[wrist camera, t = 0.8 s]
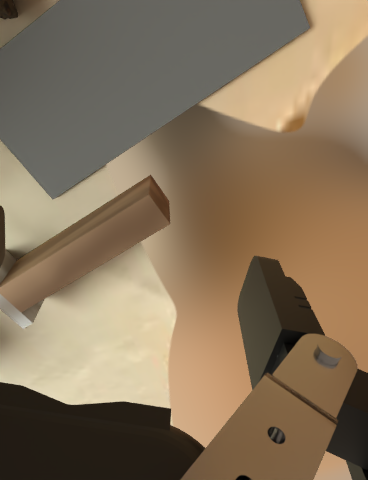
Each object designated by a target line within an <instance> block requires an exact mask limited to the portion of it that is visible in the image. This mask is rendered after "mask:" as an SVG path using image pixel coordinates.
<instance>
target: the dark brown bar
mask: <svg viewBox="0 0 368 480" xmlns="http://www.w3.org/2000/svg"><path fill="white" fill-rule="evenodd" d="M17 17H18V13H17V10H16V8H15V6H14V5H13V0H0V18H3V19H7V18H10V19H11V18H17Z"/></svg>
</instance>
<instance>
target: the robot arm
mask: <svg viewBox="0 0 368 480" xmlns="http://www.w3.org/2000/svg"><path fill="white" fill-rule="evenodd" d="M4 257H5V215H4V210H3V208H2V206H0V267H1V265H2V263H3V260H4ZM238 317H239V321H240V327H241V332H242V338H243V343H244V348H245V353H246V359H247V364H248V369H249V375H250V379H251V385H252V391H251V393H250V394H249V395H248V396H247V398H246V399H245V400H244V402H243V403H242V404H241V405H240V407H239V408H238V409H237V410H236V411H235V413H234V414H233V415H232V416H231V418H230V419H229V420H228V421H227V423H226V424H225V425H224V426H223V427H222V429H221V430H220V431H219V432H218V434H217V435H216V436H215V437H214V439H213V440H212V441H211V442H210V444H209V445H208V446H207V447H206V448H205V447H203V446H202V445H201V444H200V443H199V442H198V441H196V440H195V439H194V438H193V437H191V436H190V435H188V434H187V433H185V432H183V431H181V430H180V429H178V428H176V427H173V426H171V425H170V419H171V409H169V408H162V407H156V406H150V405H143V404H137V403H130V402H110V403H96V404H83V405H68V404H65V403H62V402H60V401H58V400H55V399H53V398H50V397H48V396H46V395H43V394H41V393H38V392H36V391H34V390H31V389H29V388H27V387H24V386H21V385H14V384H8V383H2V382H0V480H313V479H314V477H315V475H316V472H317V470H318V468H319V465H320V463H321V461H322V458H323V456H324V454H325V451H327V452H329V453H332V454H334V455H336V456H338V457H340V458H342V459H344V460H346V462H347V465H348V468H349V471H350V474H351V477H352V480H368V373H366V372H364V371H362V370H359V369H357V363H356V360H355V359H354V357H353V355H352V354H351V353H350V352H349V351H348V350H347V349H346V348H345V347H344V346H343V345H341V344H340V343H338V342H337V341H335V340H333V339H331V338H329V337H327V336H325V334H324V332H323V330H322V328H321V326H320V324H319V322H318V320H317V318H316V316H315V314H314V312H313V310H311V306H310V304H309V302H308V301H307V298H306V296H305V294H304V292H303V290H302V288H301V287H300V286H299V285H298V284H297V283H296V282H295V281H294V280H293V279H292V278H290V277H286V276H285V275H284V272H283V270H282V268H281V265H280V263H279V261H278V260H275V259H269V258H265V257H259V256H254V257H253V259H252V261H251V263H250V266H249V269H248V272H247V275H246V278H245V281H244V284H243V287H242V290H241V292H240V296H239V301H238Z"/></svg>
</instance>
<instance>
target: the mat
mask: <svg viewBox="0 0 368 480" xmlns="http://www.w3.org/2000/svg"><path fill="white" fill-rule="evenodd" d="M309 28H310V26H309V24H308V21H307V18H306V16H305V13H304V10H303V8H302V5H301V3H300V0H60V1H58V2H57V3H56V4H55V5H54V6H52V7H51V8H50V9H49V10H47V11H46V12H45V13H44V14H42V15H41V16H40V17H39V18H38V19H36V20H35V21H34V22H33V23H31V24H30V25H29V26H28V27H27V28H25V29H24V30H23V31H22V32H20V33H19V34H18V35H17V36H16V37H14V38H13V39H12V40H11V41H9V42H8V43H7V44H6V45H4V46H3V47H2V48H1V49H0V139H1V141H2V142H3V143H4V144H5V145H6V146H7V148H8V149H9V150H10V151H11V152H12V153H13V154H14V156H15V157H16V158H17V159H18V160H19V161H20V162H21V164H22V165H23V166H24V167H25V168H26V169H27V170H28V172H29V173H30V174H31V175H32V176H33V177H34V178H35V180H36V181H37V182H38V183H39V184H40V185H41V186H42V188H43V189H44V190H45V191H46V192H47V193H48V194H49V196H50V197H51V198H52V199H55V198H56V197H58V196H59V195H61V194H62V193H64V192H65V191H67V190H68V189H70V188H71V187H73V186H74V185H75V184H77V183H78V182H80V181H81V180H83V179H84V178H86V177H87V176H89V175H90V174H92V173H93V172H95V171H96V170H98V169H99V168H101V167H102V166H104V165H105V164H107V163H108V162H110V161H111V160H113V159H114V158H116V157H117V156H119V155H120V154H122V153H123V152H125V151H126V150H128V149H129V148H131V147H132V146H134V145H135V144H137V143H138V142H140V141H141V140H143V139H144V138H146V137H147V136H149V135H150V134H152V133H153V132H155V131H156V130H158V129H159V128H161V127H162V126H164V125H165V124H167V123H168V122H170V121H171V120H173V119H174V118H176V117H177V116H179V115H180V114H182V113H183V112H185V111H186V110H188V109H189V108H191V107H192V106H194V105H195V104H197V103H198V102H200V101H201V100H203V99H204V98H206V97H207V96H209V95H210V94H212V93H213V92H215V91H216V90H218V89H219V88H221V87H222V86H224V85H225V84H227V83H228V82H230V81H231V80H233V79H234V78H236V77H237V76H239V75H240V74H242V73H243V72H245V71H246V70H248V69H249V68H251V67H252V66H254V65H255V64H257V63H258V62H260V61H261V60H263V59H264V58H266V57H267V56H269V55H270V54H272V53H273V52H275V51H276V50H278V49H279V48H281V47H282V46H284V45H285V44H287V43H288V42H290V41H291V40H293V39H294V38H296V37H297V36H299V35H300V34H302V33H303V32H305V31H306V30H308V29H309Z"/></svg>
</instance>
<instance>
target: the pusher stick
mask: <svg viewBox="0 0 368 480" xmlns="http://www.w3.org/2000/svg"><path fill="white" fill-rule="evenodd" d="M169 224H170V212H169V200H168V199H167V197H166V196H165V195H164V193H163V192H162V190H161V189H160V187H159V186H158V185H157V183H156V182H155V180H154V179H153V177H152V176H151V175H150V176H148V177H147V178H145V179H143V180H142V181H140V182H139V183H137V184H136V185H134V186H132V187H131V188H129V189H128V190H126V191H125V192H123V193H121V194H120V195H118V196H117V197H115V198H114V199H112V200H111V201H109V202H107V203H106V204H104V205H103V206H101V207H100V208H98V209H96V210H95V211H93V212H92V213H90V214H89V215H87V216H86V217H84V218H82V219H81V220H79V221H78V222H76V223H75V224H73V225H71V226H70V227H68V228H67V229H65V230H64V231H62V232H60V233H59V234H57V235H56V236H54V237H53V238H51V239H49V240H48V241H46V242H45V243H43V244H42V245H40V246H39V247H37V248H35V249H34V250H32V251H31V252H29V253H28V254H26V255H24V256H23V257H21V258H20V259H18V260H16V259H15V258H14V257H13V256H12V255H11V254H10V253H9V252H8V251H7V250H6V249H5V257H4V260H3V263H2V265H1V267H0V309H1V310H2V311H3V312H4V313H5V314H6V315H8V316H9V317H10V318H11V319H12V320H13V321H14V322H16V323H17V324H18V325H19V326H20V327H21V328H22V329H24V328H26V327H27V326H29V325H31V324H32V323H33V322H34V320H35V318H36V316H37V314H38V311H39V309H40V307H41V305H42V303H43V301H44V299H45V298H46V297H48V296H50V295H51V294H53V293H55V292H56V291H58V290H60V289H62V288H63V287H65V286H67V285H68V284H70V283H72V282H73V281H75V280H77V279H78V278H80V277H82V276H83V275H85V274H87V273H88V272H90V271H92V270H93V269H95V268H97V267H98V266H100V265H102V264H104V263H105V262H107V261H109V260H110V259H112V258H114V257H115V256H117V255H119V254H120V253H122V252H124V251H125V250H127V249H129V248H130V247H132V246H134V245H135V244H137V243H139V242H140V241H142V240H144V239H146V238H147V237H149V236H151V235H152V234H154V233H156V232H157V231H159V230H161V229H162V228H164V227H166V226H167V225H169Z"/></svg>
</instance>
